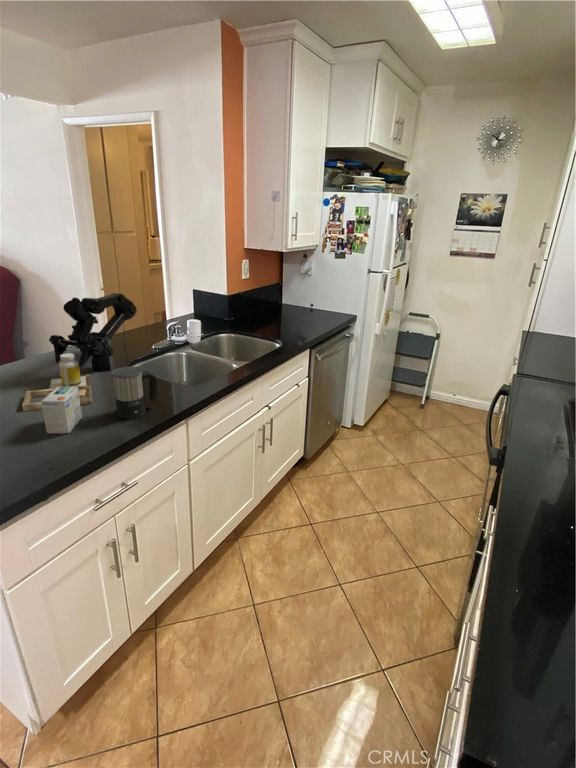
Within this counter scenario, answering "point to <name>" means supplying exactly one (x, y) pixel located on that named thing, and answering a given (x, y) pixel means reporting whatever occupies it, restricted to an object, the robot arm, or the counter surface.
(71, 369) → the pill bottle
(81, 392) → the offcut stack
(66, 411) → the light bulb box
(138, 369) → the milk frother
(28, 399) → the birch rack
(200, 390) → the counter surface
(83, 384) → the pale grey mat
